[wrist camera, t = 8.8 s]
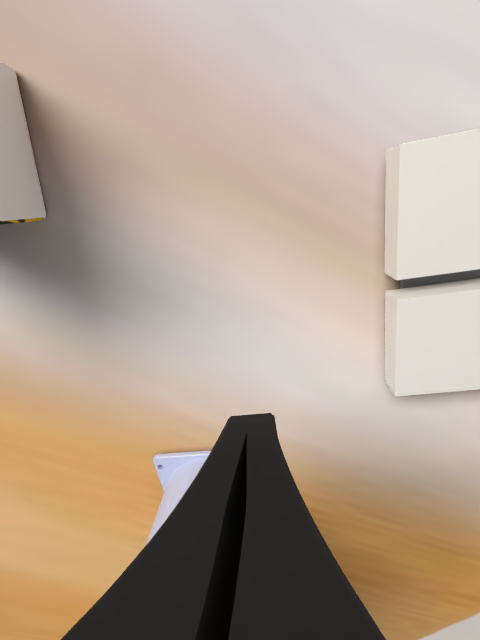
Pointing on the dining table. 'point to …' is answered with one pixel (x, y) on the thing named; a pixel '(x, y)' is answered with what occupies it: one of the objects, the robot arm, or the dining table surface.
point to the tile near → (433, 206)
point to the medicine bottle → (16, 157)
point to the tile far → (433, 338)
